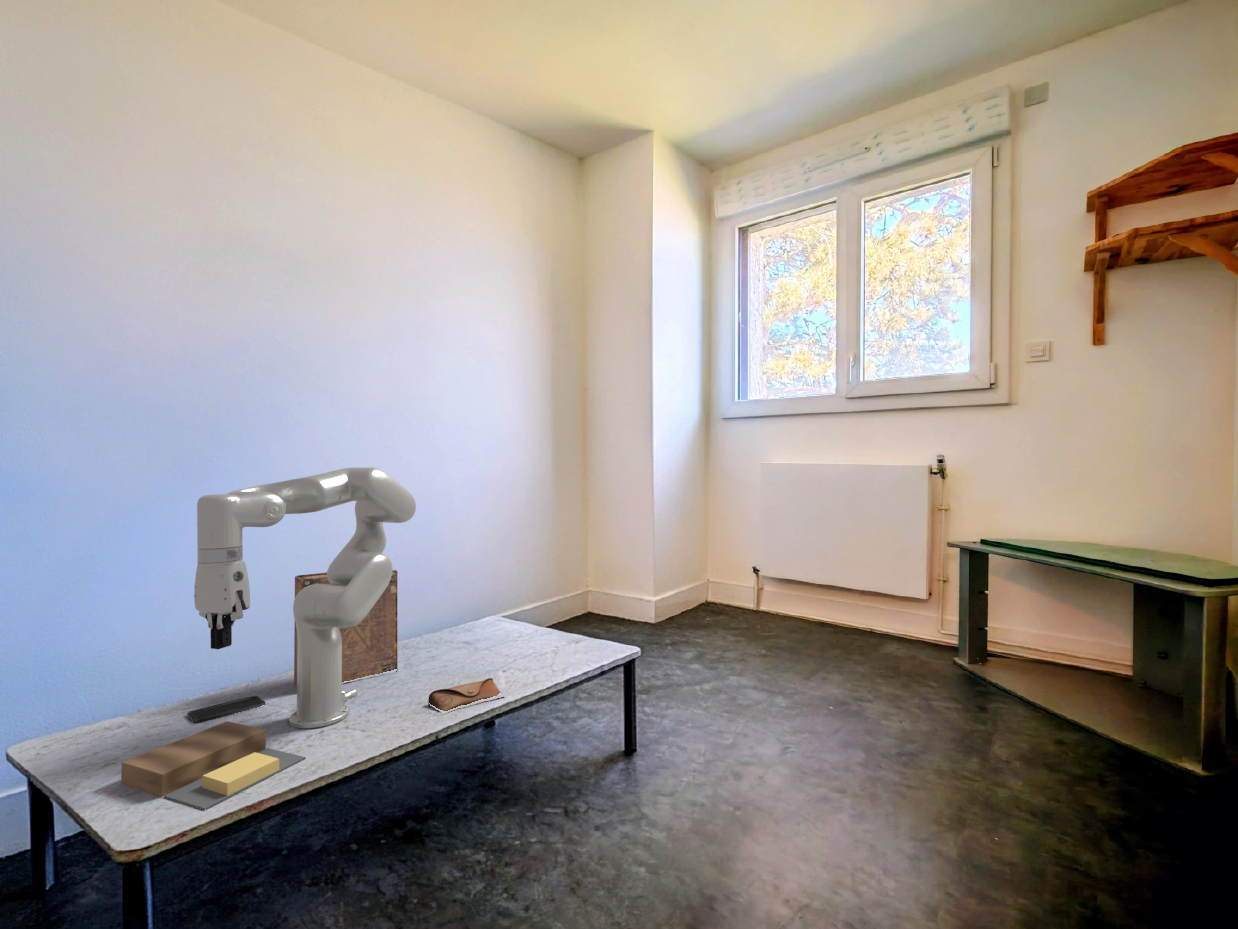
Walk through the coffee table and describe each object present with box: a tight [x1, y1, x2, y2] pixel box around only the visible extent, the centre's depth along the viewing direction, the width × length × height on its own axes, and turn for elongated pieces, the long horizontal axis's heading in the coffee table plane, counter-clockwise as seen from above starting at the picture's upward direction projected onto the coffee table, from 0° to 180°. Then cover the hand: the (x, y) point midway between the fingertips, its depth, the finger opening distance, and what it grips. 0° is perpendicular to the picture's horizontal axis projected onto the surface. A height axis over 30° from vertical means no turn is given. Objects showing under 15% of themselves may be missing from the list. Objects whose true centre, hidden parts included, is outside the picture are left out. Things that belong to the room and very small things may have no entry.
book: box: [293, 569, 398, 686], centre depth 168 cm, size 25×9×30 cm, turn 132°
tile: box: [202, 752, 279, 796], centre depth 111 cm, size 10×7×2 cm
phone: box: [186, 695, 266, 725], centre depth 145 cm, size 8×1×15 cm
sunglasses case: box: [428, 677, 501, 711], centre depth 151 cm, size 18×7×7 cm
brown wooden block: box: [120, 720, 267, 798], centre depth 117 cm, size 20×12×4 cm, turn 158°
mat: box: [163, 747, 307, 811], centre depth 113 cm, size 20×11×1 cm, turn 158°
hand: (221, 647), depth 118 cm, fingers closed
